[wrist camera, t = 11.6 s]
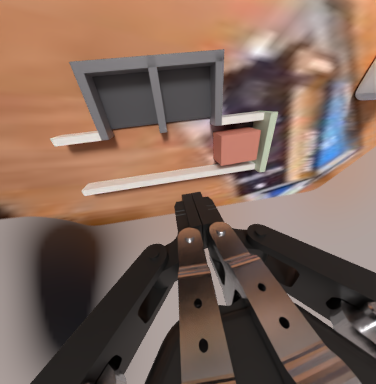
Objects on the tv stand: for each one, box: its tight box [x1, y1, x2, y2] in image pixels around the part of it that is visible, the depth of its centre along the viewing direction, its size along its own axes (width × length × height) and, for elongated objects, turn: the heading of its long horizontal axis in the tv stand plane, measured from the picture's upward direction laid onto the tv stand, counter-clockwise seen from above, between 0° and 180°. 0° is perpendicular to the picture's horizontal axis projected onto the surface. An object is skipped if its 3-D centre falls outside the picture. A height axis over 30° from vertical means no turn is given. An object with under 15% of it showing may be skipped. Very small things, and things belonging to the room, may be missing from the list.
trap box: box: [51, 49, 278, 196], centre depth 20 cm, size 30×16×4 cm, turn 95°
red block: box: [213, 127, 261, 166], centre depth 23 cm, size 6×4×4 cm
